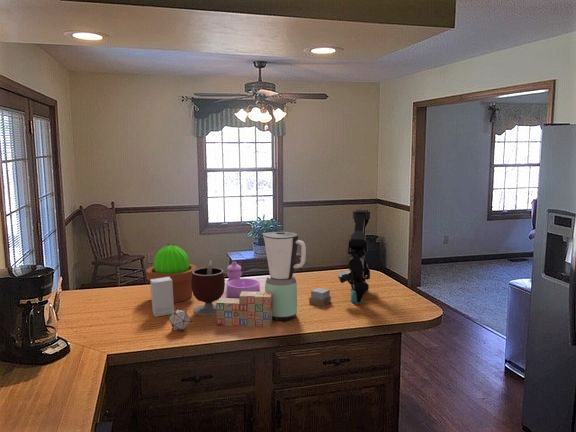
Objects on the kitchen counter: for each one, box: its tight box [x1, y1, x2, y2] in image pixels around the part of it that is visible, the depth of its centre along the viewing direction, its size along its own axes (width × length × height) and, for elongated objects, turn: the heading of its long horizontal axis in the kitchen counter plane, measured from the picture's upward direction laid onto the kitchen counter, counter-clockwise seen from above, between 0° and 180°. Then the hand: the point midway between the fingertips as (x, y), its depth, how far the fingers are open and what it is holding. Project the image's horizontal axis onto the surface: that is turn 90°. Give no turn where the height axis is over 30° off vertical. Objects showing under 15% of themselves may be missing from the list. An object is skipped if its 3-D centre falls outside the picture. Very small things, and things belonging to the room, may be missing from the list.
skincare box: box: [150, 277, 175, 317], centre depth 204 cm, size 8×6×15 cm
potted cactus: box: [145, 244, 198, 303], centre depth 225 cm, size 22×22×25 cm
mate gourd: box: [191, 259, 226, 316], centre depth 208 cm, size 16×14×20 cm
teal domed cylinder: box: [350, 289, 363, 305], centre depth 219 cm, size 5×5×5 cm
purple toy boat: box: [225, 261, 261, 299], centre depth 232 cm, size 25×15×13 cm, turn 23°
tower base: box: [308, 295, 332, 307], centre depth 218 cm, size 7×7×3 cm
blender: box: [261, 231, 307, 322], centre depth 198 cm, size 19×13×35 cm
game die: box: [166, 307, 193, 333], centre depth 186 cm, size 9×8×10 cm
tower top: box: [310, 287, 331, 300], centre depth 218 cm, size 6×6×3 cm
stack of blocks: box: [215, 291, 273, 328], centre depth 193 cm, size 21×6×12 cm, turn 85°
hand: (356, 299), depth 220 cm, fingers open, 8 cm apart
